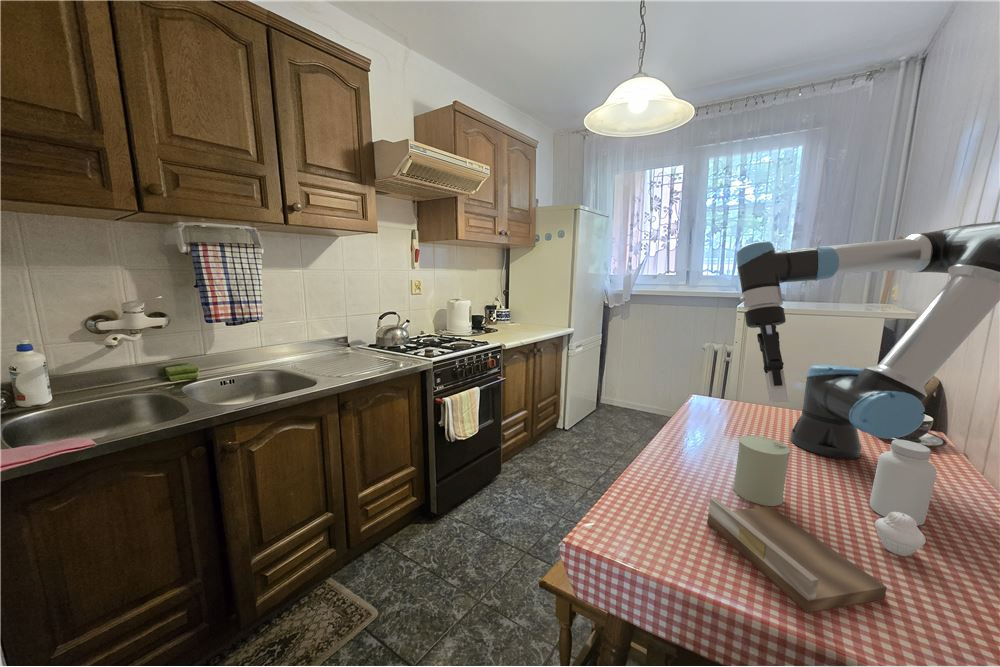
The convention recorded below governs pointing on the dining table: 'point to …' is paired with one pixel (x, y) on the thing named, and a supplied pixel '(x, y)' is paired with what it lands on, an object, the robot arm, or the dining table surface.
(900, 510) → the pill bottle
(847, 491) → the dining table surface
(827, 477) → the dining table surface
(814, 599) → the shelf
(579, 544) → the dining table surface
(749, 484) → the can
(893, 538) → the muffin
